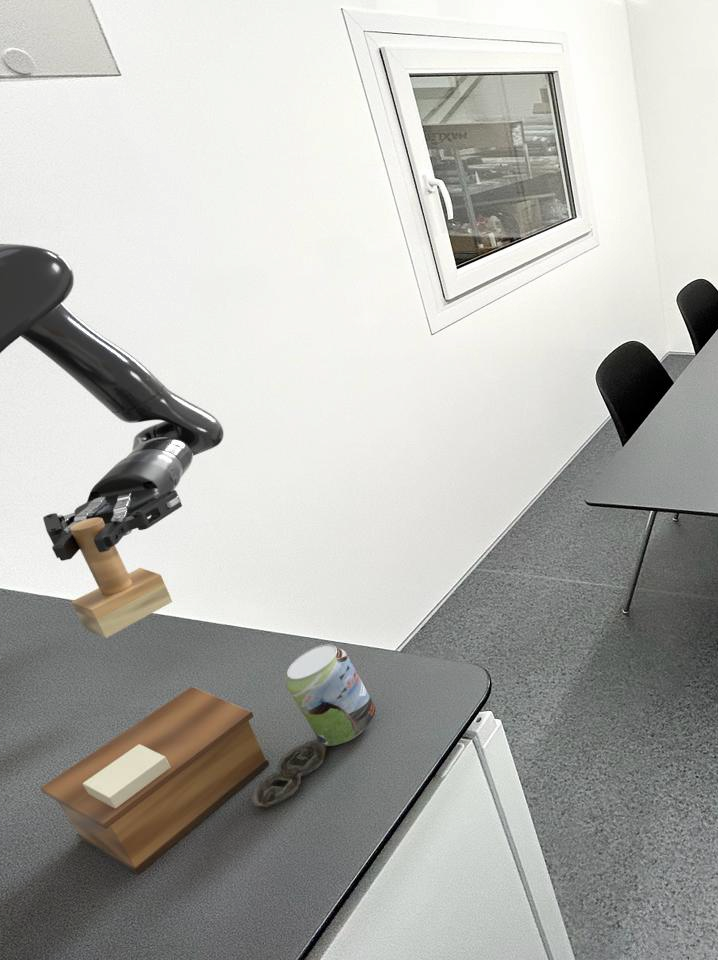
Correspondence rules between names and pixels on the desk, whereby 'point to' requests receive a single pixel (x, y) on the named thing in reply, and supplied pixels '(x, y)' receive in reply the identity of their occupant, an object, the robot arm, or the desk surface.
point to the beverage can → (330, 694)
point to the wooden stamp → (114, 586)
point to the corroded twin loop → (289, 774)
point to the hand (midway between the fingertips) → (81, 549)
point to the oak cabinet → (164, 778)
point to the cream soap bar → (126, 776)
